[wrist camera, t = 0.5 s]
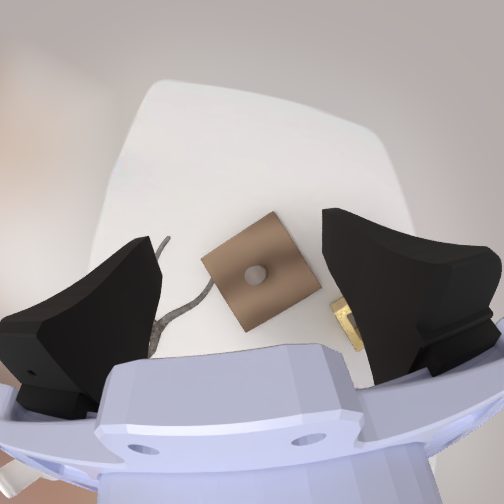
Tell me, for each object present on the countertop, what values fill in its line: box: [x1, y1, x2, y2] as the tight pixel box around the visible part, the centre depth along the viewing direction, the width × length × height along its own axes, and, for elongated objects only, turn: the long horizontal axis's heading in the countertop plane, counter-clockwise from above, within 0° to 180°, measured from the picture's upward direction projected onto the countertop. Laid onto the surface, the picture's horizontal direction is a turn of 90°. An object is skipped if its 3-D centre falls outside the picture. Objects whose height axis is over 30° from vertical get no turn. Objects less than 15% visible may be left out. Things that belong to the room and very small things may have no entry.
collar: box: [329, 297, 365, 352], centre depth 31 cm, size 6×6×5 cm
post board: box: [201, 211, 322, 332], centre depth 33 cm, size 11×11×6 cm
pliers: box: [147, 236, 214, 359], centre depth 38 cm, size 10×1×20 cm
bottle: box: [0, 459, 60, 498], centre depth 25 cm, size 8×8×30 cm
